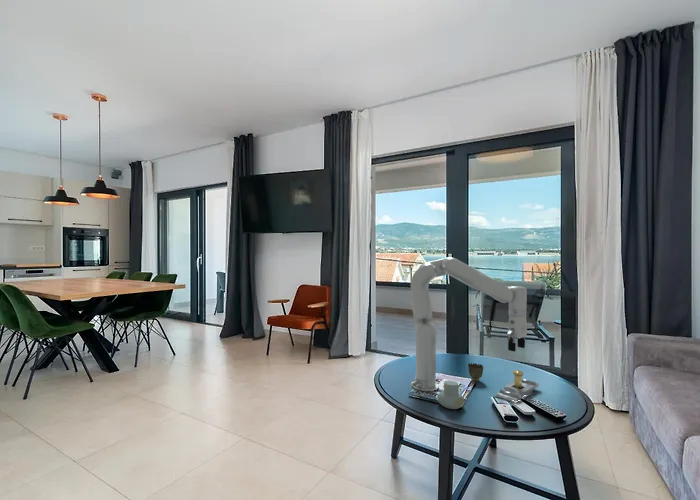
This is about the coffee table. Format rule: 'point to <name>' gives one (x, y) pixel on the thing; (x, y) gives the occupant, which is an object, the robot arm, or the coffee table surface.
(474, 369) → the cup
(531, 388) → the plate with square hole
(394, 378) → the coffee table surface
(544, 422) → the coffee table surface
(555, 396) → the coffee table surface
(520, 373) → the brass pin
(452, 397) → the air freshener
